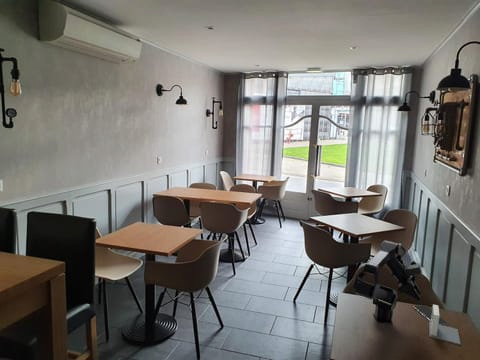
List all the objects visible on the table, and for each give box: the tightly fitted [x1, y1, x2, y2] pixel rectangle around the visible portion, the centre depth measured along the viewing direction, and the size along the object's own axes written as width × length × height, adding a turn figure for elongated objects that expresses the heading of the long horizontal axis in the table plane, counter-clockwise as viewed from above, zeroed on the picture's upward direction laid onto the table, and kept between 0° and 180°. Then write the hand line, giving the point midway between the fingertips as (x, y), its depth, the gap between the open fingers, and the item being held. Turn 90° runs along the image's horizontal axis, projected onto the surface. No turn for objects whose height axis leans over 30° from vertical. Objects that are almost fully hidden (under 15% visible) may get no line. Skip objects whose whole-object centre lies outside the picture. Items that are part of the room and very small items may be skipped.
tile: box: [429, 304, 441, 336], centre depth 150 cm, size 2×10×9 cm, turn 153°
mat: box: [428, 321, 461, 346], centre depth 149 cm, size 11×12×1 cm
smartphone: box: [412, 304, 449, 326], centre depth 164 cm, size 7×1×16 cm
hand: (419, 296), depth 152 cm, fingers open, 6 cm apart
